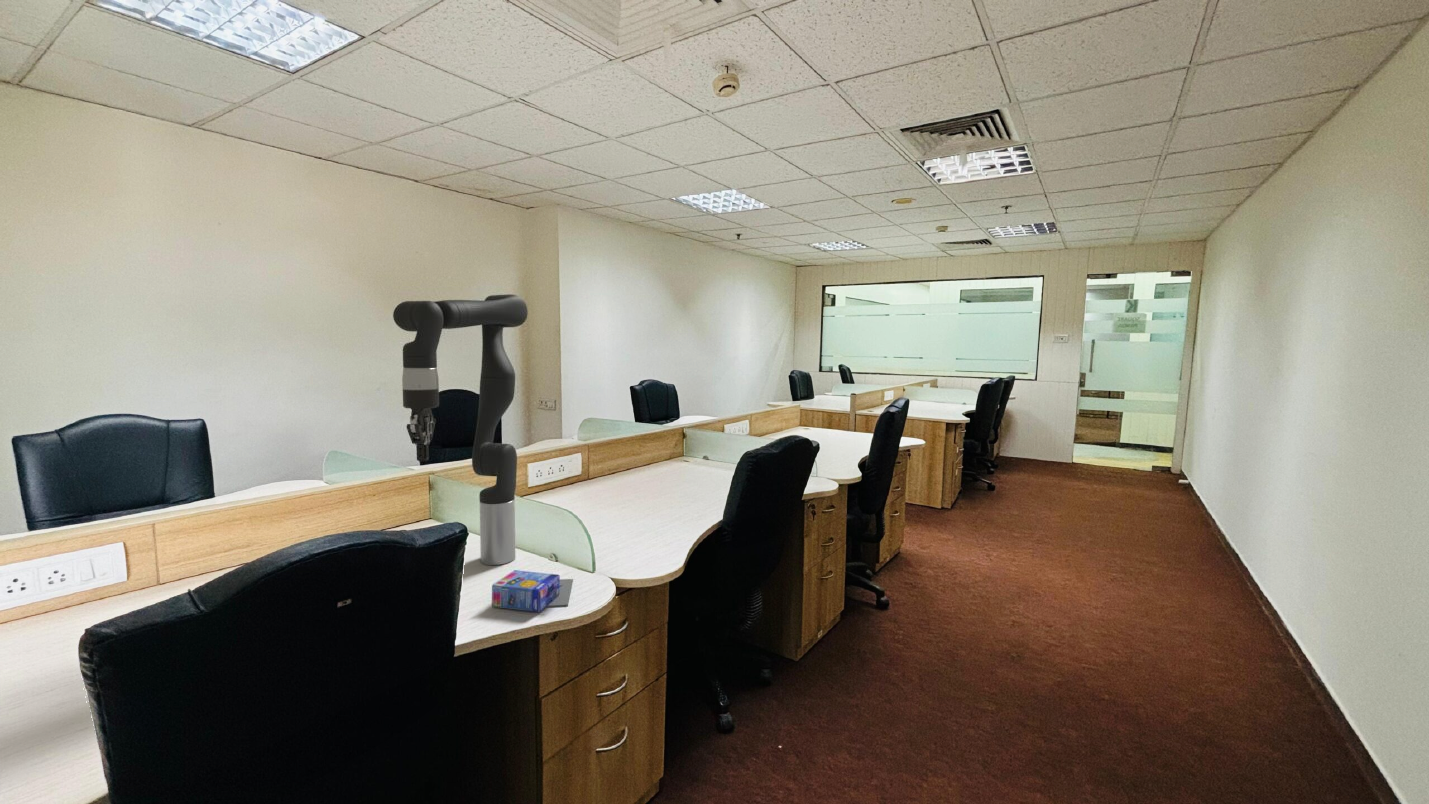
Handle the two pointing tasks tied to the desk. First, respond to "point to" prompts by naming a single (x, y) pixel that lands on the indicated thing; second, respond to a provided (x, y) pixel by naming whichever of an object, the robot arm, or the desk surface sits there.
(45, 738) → the desk surface
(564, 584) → the mat
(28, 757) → the desk surface
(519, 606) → the ink cartridge box
